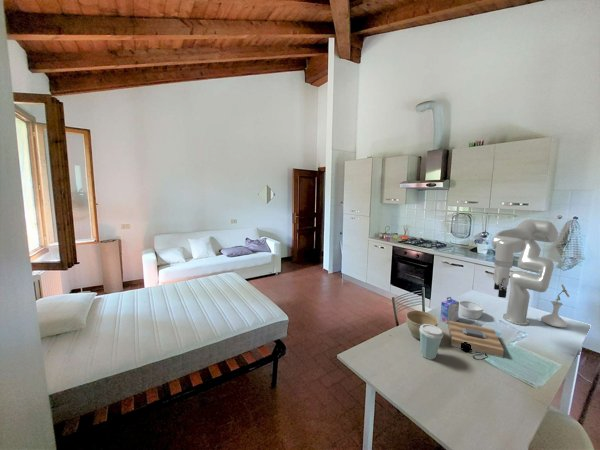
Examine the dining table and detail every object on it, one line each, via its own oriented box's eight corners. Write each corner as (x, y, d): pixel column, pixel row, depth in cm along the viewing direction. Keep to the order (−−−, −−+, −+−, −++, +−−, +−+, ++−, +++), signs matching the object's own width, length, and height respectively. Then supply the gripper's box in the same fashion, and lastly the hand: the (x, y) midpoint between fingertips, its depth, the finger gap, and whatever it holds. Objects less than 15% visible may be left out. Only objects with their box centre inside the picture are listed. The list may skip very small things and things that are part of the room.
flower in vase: (561, 331, 151) (569, 290, 147) (537, 321, 161) (543, 283, 157) (570, 325, 157) (578, 286, 153) (546, 317, 167) (553, 280, 163)
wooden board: (448, 326, 155) (448, 320, 154) (492, 336, 146) (493, 329, 145) (451, 345, 137) (452, 338, 136) (502, 357, 128) (503, 350, 127)
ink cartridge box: (449, 316, 167) (452, 295, 165) (458, 320, 162) (460, 298, 160) (439, 319, 163) (441, 297, 161) (447, 323, 158) (449, 301, 156)
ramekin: (487, 320, 162) (488, 310, 161) (465, 320, 162) (467, 310, 161) (473, 310, 175) (474, 300, 174) (453, 310, 175) (454, 300, 174)
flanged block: (461, 335, 146) (462, 326, 145) (483, 339, 141) (484, 331, 141) (462, 339, 141) (463, 331, 140) (485, 345, 137) (486, 336, 136)
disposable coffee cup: (421, 346, 137) (424, 319, 134) (444, 355, 129) (447, 328, 126) (413, 355, 129) (415, 327, 127) (436, 366, 122) (439, 337, 119)
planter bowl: (398, 330, 151) (400, 312, 149) (421, 325, 156) (422, 308, 154) (419, 346, 136) (420, 327, 134) (443, 341, 141) (445, 322, 139)
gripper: (491, 257, 146) (487, 285, 149) (498, 267, 131) (494, 299, 134) (507, 259, 143) (504, 288, 146) (517, 269, 128) (512, 301, 131)
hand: (499, 293), depth 140 cm, fingers open, 9 cm apart
